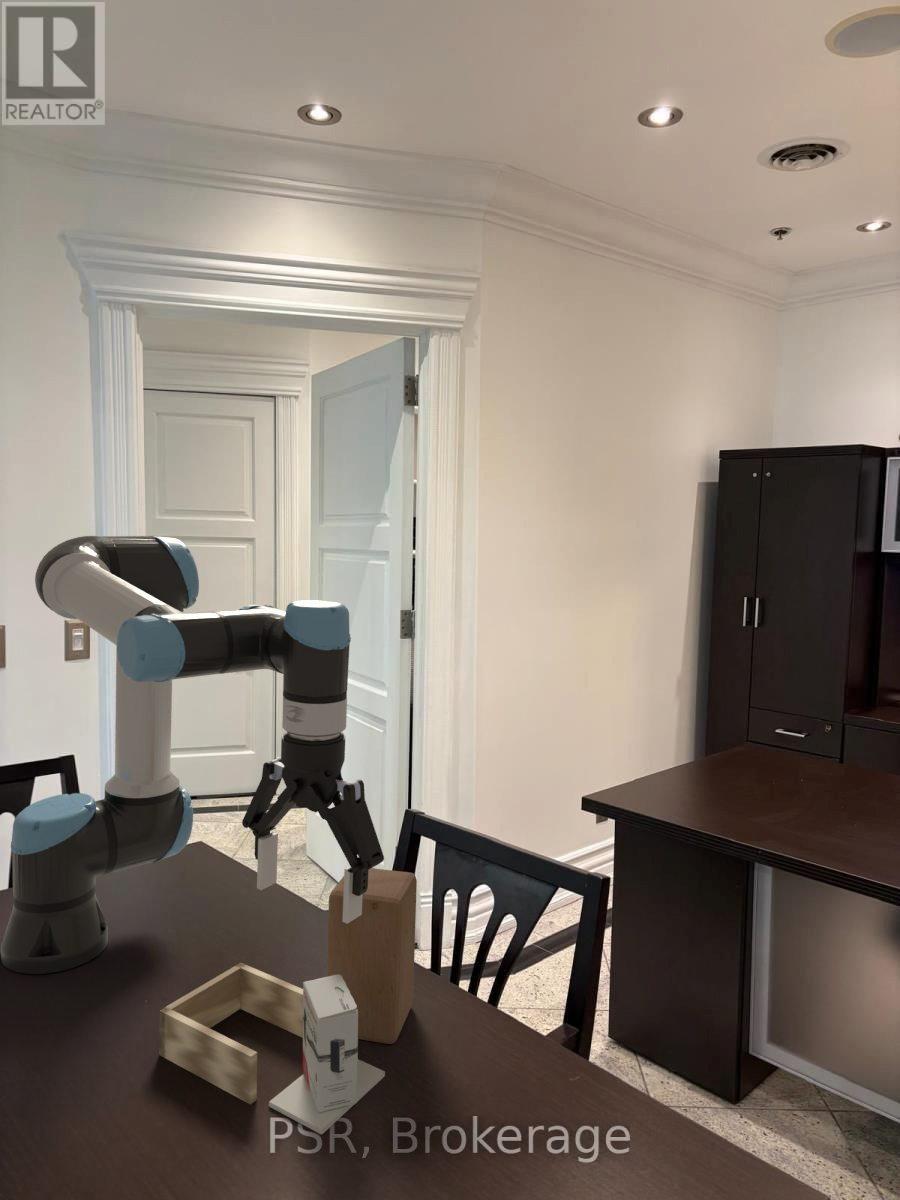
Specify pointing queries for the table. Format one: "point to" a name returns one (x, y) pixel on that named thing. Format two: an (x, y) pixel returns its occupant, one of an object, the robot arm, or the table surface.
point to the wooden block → (377, 952)
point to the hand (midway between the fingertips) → (308, 901)
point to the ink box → (330, 1042)
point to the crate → (211, 1003)
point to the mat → (302, 1106)
